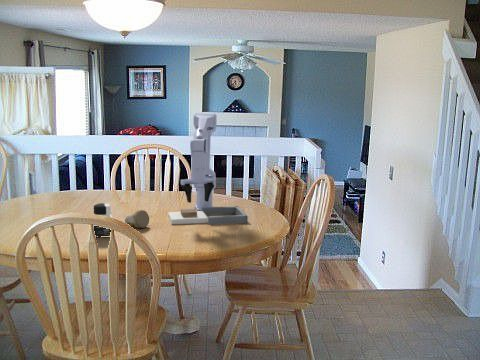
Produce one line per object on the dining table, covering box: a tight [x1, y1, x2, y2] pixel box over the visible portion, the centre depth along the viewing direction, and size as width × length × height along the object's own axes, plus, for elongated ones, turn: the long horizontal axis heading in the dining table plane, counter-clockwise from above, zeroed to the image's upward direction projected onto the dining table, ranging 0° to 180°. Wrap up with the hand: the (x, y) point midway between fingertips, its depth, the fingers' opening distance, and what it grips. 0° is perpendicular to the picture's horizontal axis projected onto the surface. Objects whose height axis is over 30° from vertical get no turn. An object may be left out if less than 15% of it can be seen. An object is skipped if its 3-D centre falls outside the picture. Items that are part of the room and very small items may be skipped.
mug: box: [124, 209, 150, 229], centre depth 204 cm, size 8×10×10 cm
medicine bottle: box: [93, 202, 113, 237], centre depth 191 cm, size 7×7×12 cm
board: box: [167, 210, 208, 225], centre depth 216 cm, size 12×15×2 cm
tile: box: [180, 208, 198, 217], centre depth 216 cm, size 6×6×2 cm
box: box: [201, 205, 249, 225], centre depth 220 cm, size 17×16×3 cm
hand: (197, 201), depth 207 cm, fingers open, 7 cm apart
